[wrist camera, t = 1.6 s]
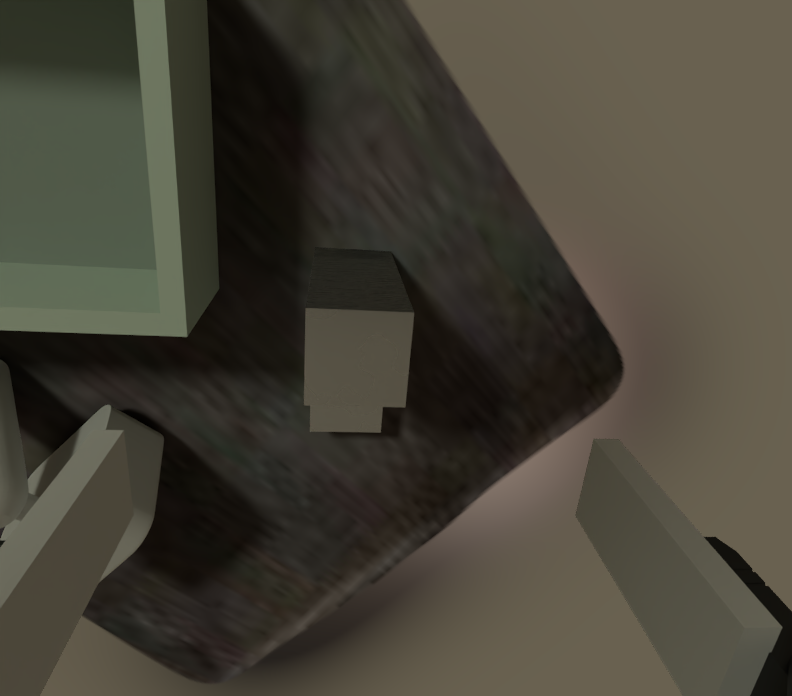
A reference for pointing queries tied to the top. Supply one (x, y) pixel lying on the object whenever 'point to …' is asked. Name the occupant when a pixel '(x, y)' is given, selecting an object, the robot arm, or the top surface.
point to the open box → (106, 167)
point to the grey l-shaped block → (355, 340)
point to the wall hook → (5, 467)
